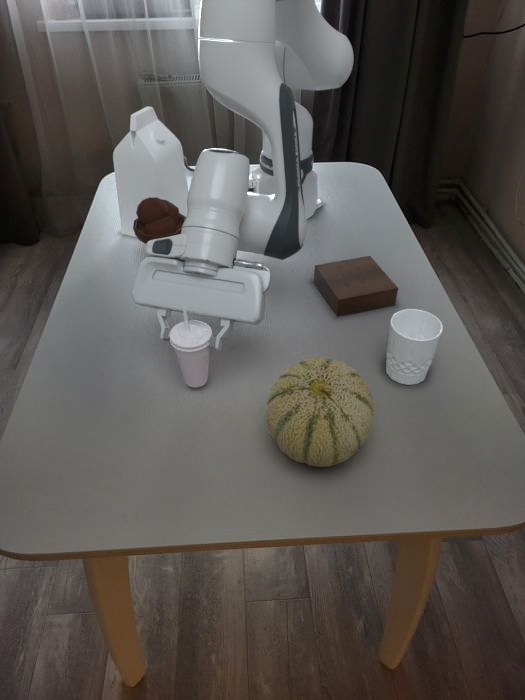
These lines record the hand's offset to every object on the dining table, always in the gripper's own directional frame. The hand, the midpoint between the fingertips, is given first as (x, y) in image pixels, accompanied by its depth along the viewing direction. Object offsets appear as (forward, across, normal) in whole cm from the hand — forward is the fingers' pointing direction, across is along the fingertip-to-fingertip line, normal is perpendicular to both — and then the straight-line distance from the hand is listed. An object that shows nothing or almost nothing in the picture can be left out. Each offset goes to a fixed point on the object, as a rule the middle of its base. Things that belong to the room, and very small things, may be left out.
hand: (189, 344), depth 83 cm
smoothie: (+5, 0, -6) cm, 8 cm away
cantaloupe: (+11, -21, -2) cm, 24 cm away
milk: (-26, +27, -40) cm, 55 cm away
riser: (-16, -21, -30) cm, 40 cm away
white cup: (-2, -32, -16) cm, 36 cm away
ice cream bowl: (-16, +19, -30) cm, 39 cm away
